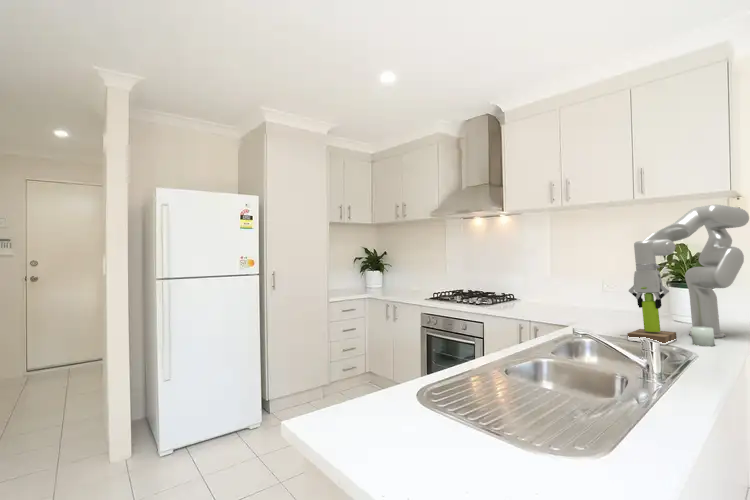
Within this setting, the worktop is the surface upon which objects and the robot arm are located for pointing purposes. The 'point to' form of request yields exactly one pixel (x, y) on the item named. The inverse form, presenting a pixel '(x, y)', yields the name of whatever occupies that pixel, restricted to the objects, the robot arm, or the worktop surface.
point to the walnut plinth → (654, 335)
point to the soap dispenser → (650, 313)
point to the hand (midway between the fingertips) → (649, 307)
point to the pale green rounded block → (703, 336)
